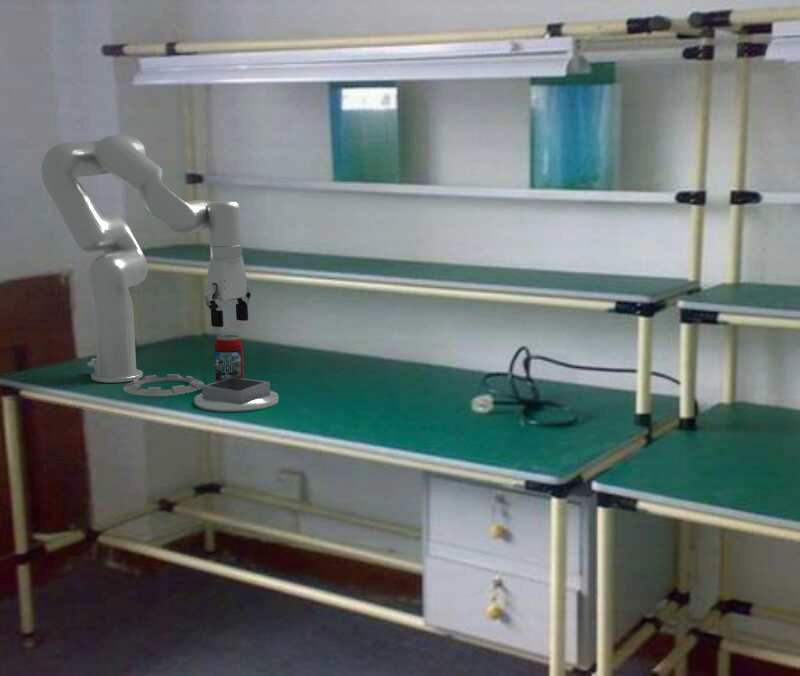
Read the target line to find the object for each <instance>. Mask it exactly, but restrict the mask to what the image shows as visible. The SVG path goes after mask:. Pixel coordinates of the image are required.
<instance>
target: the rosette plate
mask: <svg viewBox="0 0 800 676" xmlns="http://www.w3.org/2000/svg"><path fill="white" fill-rule="evenodd" d="M278 402H279V394H278V393H277V392H275V391H274V390H271V381H266V380H256V379H250V378H244V377H243V378H235V377H230V378H227V379H224V380H221V381H217V382H216V381H214V382H211V383H208V384H205V385H204V386H202V389H201V392H200V393H199V394H196V396H194V405H195V407H197V408H198V409H201V410H204V411H210V412H217V413H242V412H243V413H244V412H252V411H253V412H254V411H261V410H264V409H268V408H271V407H273V405H274V406H276V405H277V404H278Z"/></svg>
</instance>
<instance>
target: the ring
mask: <svg viewBox="0 0 800 676" xmlns="http://www.w3.org/2000/svg"><path fill="white" fill-rule="evenodd" d="M157 382H182V383H183V382H184V383H188V384H189V385H187V386H185V385H184V384H180V385H173V386H171V388H170V389H162V387H161V386H159V387H158V386H149V387H148V388H147V389H146V388H142V386H141V385H144V384H149V383H157ZM204 385H206V384H205V383H204V382H203V381H201V380H199V379H197V378H195V377H193V376H189V375H186V376H185V377H183V376H182V375H180V374H175V373H174V374H170V373H169V374H166V377H157V374H154V375H147V376H144V377H141V378H140V379H136V380H133V381H130V382H129V383H127V384H125V385H124V386H123V388H122V390H123V391H124V392H125V393H126V394H130V395H135V396H141V397H142V396H143V397H170V396H179V394H181V395H186V394H185V393H187V394H191V393H195V392H198V391H200V390H202V386H204ZM197 390H198V391H197ZM194 391H195V392H194ZM190 392H191V393H190Z"/></svg>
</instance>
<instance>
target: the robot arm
mask: <svg viewBox="0 0 800 676" xmlns="http://www.w3.org/2000/svg"><path fill="white" fill-rule="evenodd" d="M146 154H147V153H146V148H145V145H144V143H142V141H141V140H140V139H139V138H137V137H135V136H132V135H128V134H126V135H125V134H121V135H120V134H119V135H118V134H117V135H114V134H113V135H107V136H105V137H103V138H101V139H100V140H93V141H70V142H69V141H68V142H62V143H58V144H56V145H53V146H52V147H50V148H49V149H48V150H47V152H45V155H44V157H43V159H42V162H41V171H40V173H41V180H42V183H43V186H44V187H45V190H46V192H47V193H48V194H49V197H50V198H51V200H52V201H53V203H54V205H55V206H56V208H57V210H58V212H59V214H60V215H61V218H62V220H63V222H64V223H65V225H66V227H67V229H68V230H69V233H70V234H71V237H72V238H73V240H74V241H75V244H76V245H77V246H78V248H80V250H82V251H84V252H87V253H94V252H97V253H98V252H102V251H103V253H102V254H100V255H99V256H96V257H95V258H94V259H93V261H91V263H90V265H89V267H88V282H89V286H90V291H91V295H92V303H93V315H94V326H95V327H94V329H95V347H96V349H95V350H96V358H91V359H90V361H88V362H87V367H88V368H94V372H92V373H91V374H90V376H91V378H90V379H91V380H92V381H94V382H97V383H98V382H99V383H127V382H132V381H134V380H136V379H139V380H141V379H142V378H143V376H144V372H143V371H142V370H141V369H137V357H136V353H137V352H136V335H135V334H136V333H135V314H134V304H133V300H132V297H131V293H130V291H129V288H131V287H135V286H138V285H140V284H141V283H142V282H144V280H146V278H147V276H148V273H149V266H148V261H147V258H146V256H145V254H144V252H143V251H142V248H141V247H140V245H139V243H138V241H137V239H136V237H135V235H134V233H133V231H132V230H131V227H130V226H129V225H128V223H127V222H126V220H125V219H124V218H122V216H120V215H119V214H117V213H115V212H113V211H100V209H99V208H98V207H97V205H96V204H95V202H94V200H93V198H92V195H91V194H90V192H89V191H88V190H87V189H86V187H84V186H83V185H82V184H81V183H80V182H79V180H78V178H81V177H89V176H91V177H93V176H99V175H106V174H111V175H112V176H114V177H115V178H116V179H117V180H119V181H120V182H121V183H123V184H124V185H125V186H126V187H128V188H129V189H131V190H132V192H134V193H136V194H137V195H138V196H139V198H140V201H141V202H142V204H143V206H144V207H145V208H146V209H147V211H148V212H149V213H150V214H151V215H152V216H153V217H154V218H155V219H157V220H158V221H159V222H161V223H162V224H163V225H164V226H166V227H167V228H169V229H170V230H172V231H173V232H175V233H178V234H183V235H188V234H192V233H199V232H204V231H208V232H209V233H208V235H209V249H210V250H209V251H210V253H209V254H210V260H209V261H208V264H207V265H208V267H207V282H206V283H207V285H206V287H207V288H206V289H207V290H206V291H205V292H204V293H203V298H204V301H205V304H206V306H207V307H208V310H209V311H210V321H211V322H210V323H211V324H210V325H211V327H214V328H215V327H217V328H222V327H224V311H223V309H222V307H223V304H224V303H225V302H230V301H236V302H237V303H236V304H235V314H236V315H235V316H236V321H244V322H247V321H249V308H248V305H249V303H250V298H251V291H252V288H253V285H252V284H251V283H250V282H248V281H247V275H246V268H245V262H244V257H243V246H242V245H243V244H242V243H243V242H242V228H241V226H242V223H241V210H240V209H241V207H240V205H239V203H238V202H237V201H235V200H216V201H211V200H205V199H204V200H203V199H196V200H188V201H187V200H186V201H184V200H183V199H182V198H180V197H179V196H177V195H176V194H175V193H174V192H172V191H171V190H170V189H169V188H168V187H167V186H166V185H165V184H164V183H163V180H162V179H163V175H164V172H163V169H162V168H161V166H159V165H158V164H156V163H155V162H154V161H153V160H152V159H150V158H148V157H147V155H146ZM221 309H222V310H221Z"/></svg>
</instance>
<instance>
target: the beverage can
mask: <svg viewBox="0 0 800 676" xmlns="http://www.w3.org/2000/svg"><path fill="white" fill-rule="evenodd" d="M243 348H244V347H243V342H242V340H241V338H240V336H239V335H235V334H233V335H232V334H225V335H224V334H223V335H219V336H217V337H216V340H215V342H214V366H215V367H214V371H215V372H214V373H215V374H214V375H215V382H217V381H221V380H224V379H227V378H230V377H235V378H243V379H244V353H243V350H244V349H243Z"/></svg>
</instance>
